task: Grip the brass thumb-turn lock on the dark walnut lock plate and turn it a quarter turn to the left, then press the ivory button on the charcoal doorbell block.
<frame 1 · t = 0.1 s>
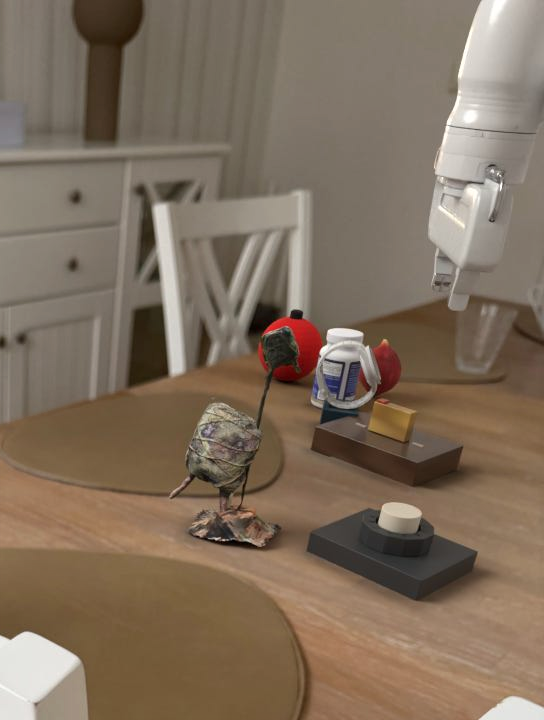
hand: (446, 299, 108), 19 cm above the table, tool pointing down, fingers open, 8 cm apart
pill bottle: (330, 406, 135), on the table
onion: (373, 398, 139), on the table
bell button: (399, 518, 91), point 5 cm above the table, slide at 0.2 cm
plant with pod: (222, 531, 97), on the table
ornament: (284, 381, 144), on the table
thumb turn: (392, 419, 115), point 5 cm above the table, hinge at 0.0°
watch: (336, 430, 126), on the table, touching lock plate
lock plate: (382, 459, 117), on the table
doorbell: (388, 561, 93), on the table
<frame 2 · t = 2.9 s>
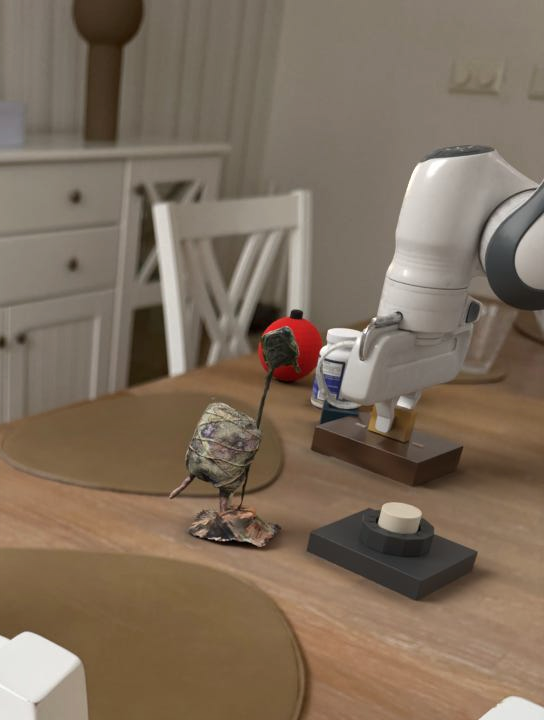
hand: (390, 428, 115), 4 cm above the table, tool pointing down, fingers closed on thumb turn
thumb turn: (392, 419, 115), point 5 cm above the table, hinge at 0.0°, touching gripper
everything else where it was.
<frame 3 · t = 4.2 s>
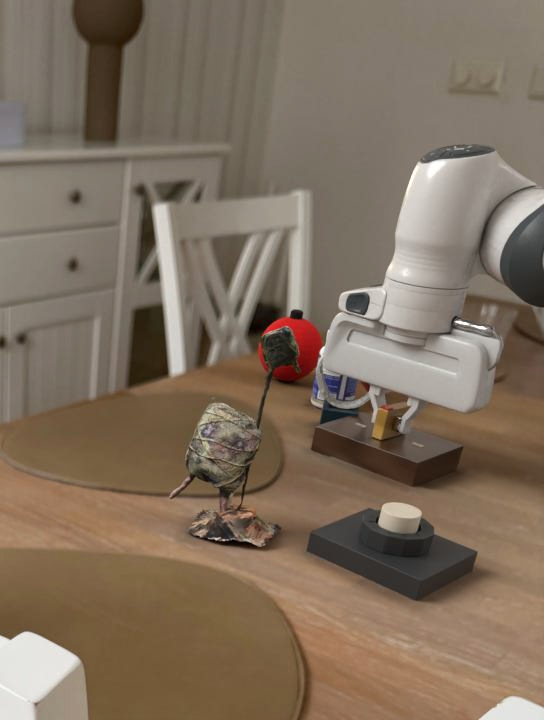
hand: (390, 428, 115), 4 cm above the table, tool pointing down, fingers closed on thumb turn
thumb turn: (392, 419, 115), point 5 cm above the table, hinge at 87.0°, touching gripper
everything else where it was.
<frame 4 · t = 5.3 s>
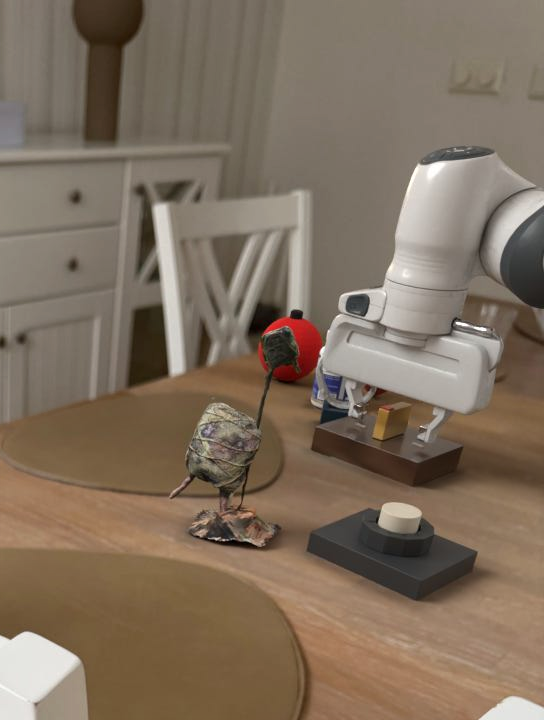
hand: (390, 429, 115), 4 cm above the table, tool pointing down, fingers open, 8 cm apart
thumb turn: (392, 419, 115), point 5 cm above the table, hinge at 89.6°
everything else where it was.
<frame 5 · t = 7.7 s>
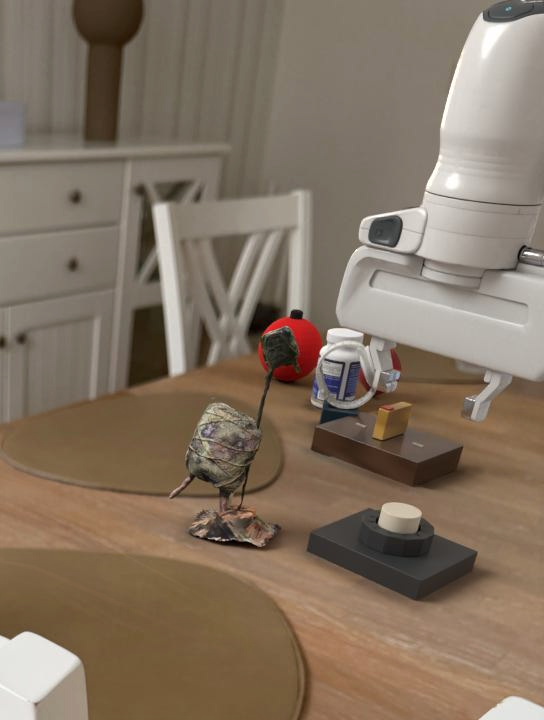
hand: (426, 404, 86), 15 cm above the table, tool pointing down, fingers open, 7 cm apart
nothing on the table moved.
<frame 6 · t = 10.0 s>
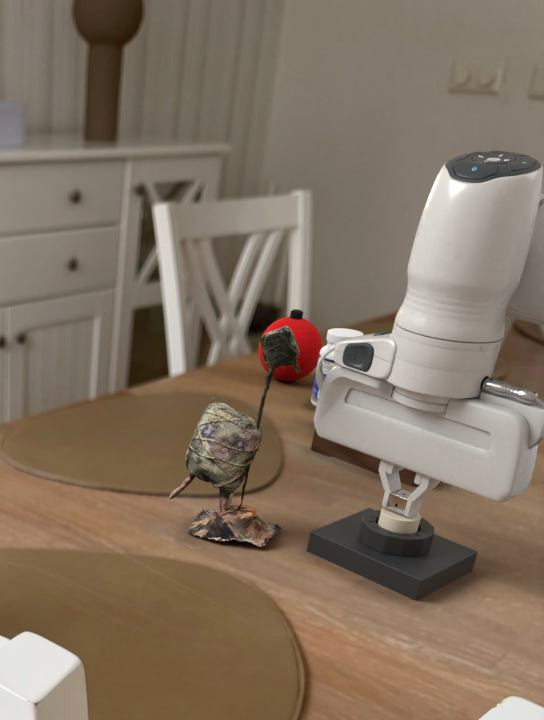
hand: (399, 511, 91), 5 cm above the table, tool pointing down, fingers closed, pressing on bell button
bell button: (399, 521, 91), point 4 cm above the table, slide at -0.1 cm, touching gripper
everything else where it was.
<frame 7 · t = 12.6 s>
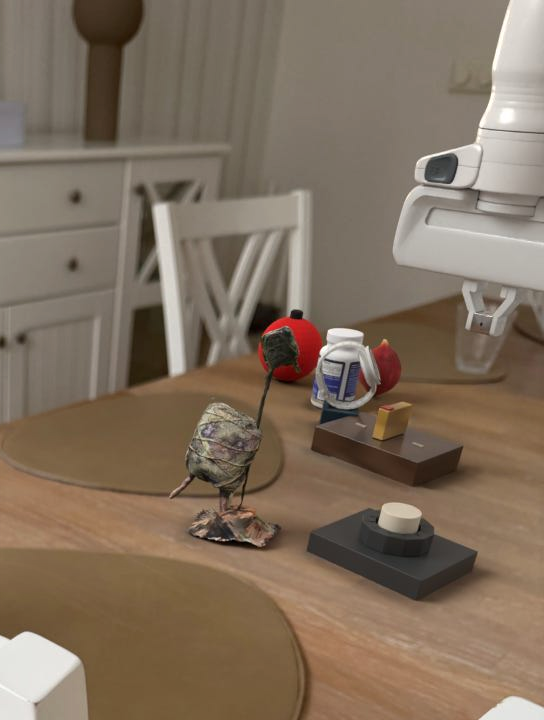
hand: (483, 333, 91), 20 cm above the table, tool pointing down, fingers closed
bell button: (399, 518, 91), point 5 cm above the table, slide at 0.1 cm
everything else where it was.
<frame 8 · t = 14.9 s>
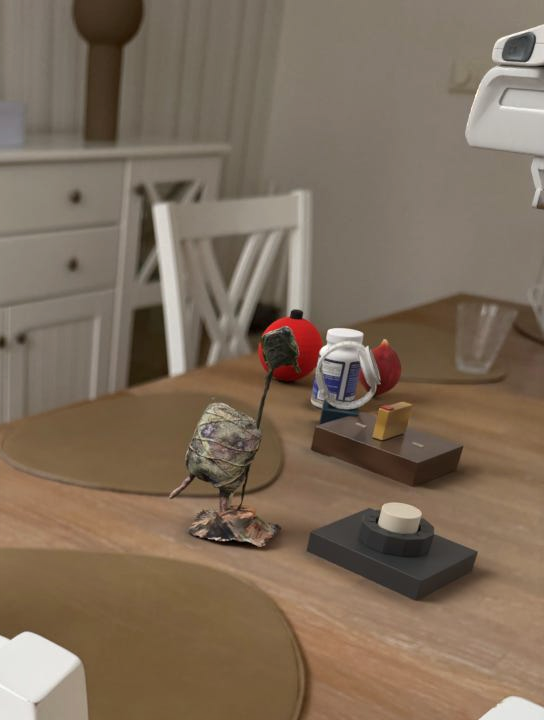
nothing on the table moved.
at the end: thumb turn at +90° (first picture: +0°); bell button pushed in 1.1 cm at the most during the clip, back to where it started at the end; bell button slide at 0.1 cm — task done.
